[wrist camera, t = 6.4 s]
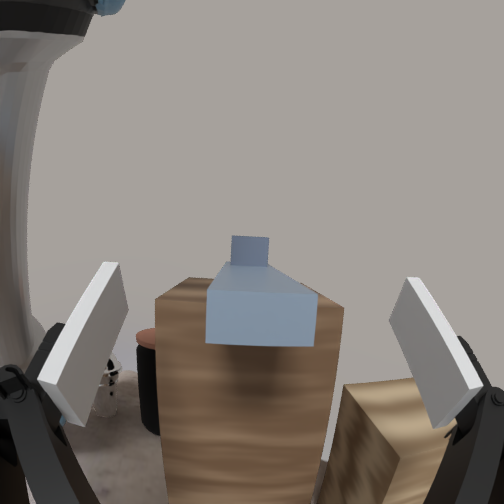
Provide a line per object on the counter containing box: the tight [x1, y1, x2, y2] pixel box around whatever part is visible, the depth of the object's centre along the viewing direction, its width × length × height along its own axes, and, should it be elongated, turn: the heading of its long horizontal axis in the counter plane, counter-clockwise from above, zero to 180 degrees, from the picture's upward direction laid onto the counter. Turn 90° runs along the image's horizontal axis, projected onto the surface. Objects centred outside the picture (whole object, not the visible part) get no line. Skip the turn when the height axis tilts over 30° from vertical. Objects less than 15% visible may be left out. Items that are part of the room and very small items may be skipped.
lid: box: [205, 236, 318, 346], centre depth 21 cm, size 20×4×4 cm, turn 3°
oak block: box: [317, 377, 457, 504], centre depth 23 cm, size 14×9×20 cm, turn 3°
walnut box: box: [155, 277, 344, 504], centre depth 26 cm, size 14×12×30 cm
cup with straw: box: [93, 352, 122, 418], centre depth 50 cm, size 8×9×20 cm
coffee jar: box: [136, 328, 161, 436], centre depth 50 cm, size 11×11×18 cm
